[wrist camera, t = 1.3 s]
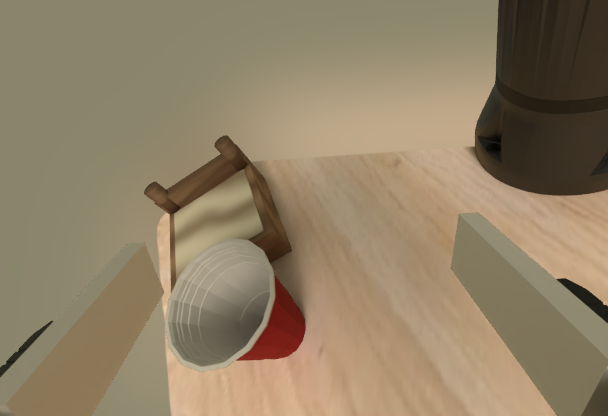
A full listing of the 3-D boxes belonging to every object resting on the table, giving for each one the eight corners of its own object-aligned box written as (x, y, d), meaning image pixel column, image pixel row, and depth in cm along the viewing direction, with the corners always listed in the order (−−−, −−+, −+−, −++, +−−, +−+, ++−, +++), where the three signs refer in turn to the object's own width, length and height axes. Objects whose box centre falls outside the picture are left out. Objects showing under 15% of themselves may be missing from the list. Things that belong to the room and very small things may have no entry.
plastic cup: (247, 405, 30) (155, 393, 22) (237, 307, 38) (165, 269, 29) (343, 364, 29) (284, 335, 20) (312, 270, 36) (260, 218, 27)
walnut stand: (292, 250, 39) (249, 208, 32) (198, 305, 41) (137, 277, 33) (263, 176, 50) (227, 132, 43) (191, 222, 52) (144, 187, 45)
